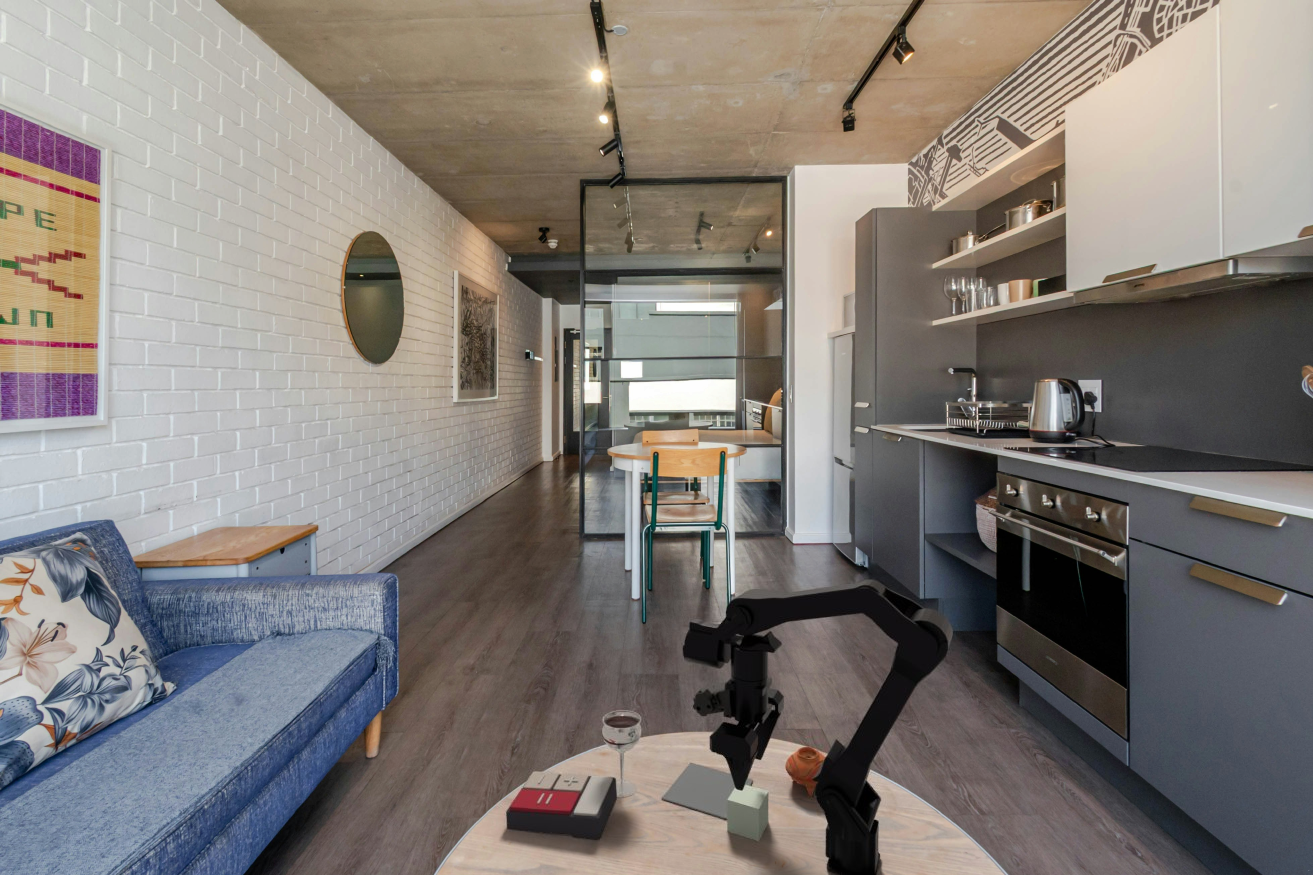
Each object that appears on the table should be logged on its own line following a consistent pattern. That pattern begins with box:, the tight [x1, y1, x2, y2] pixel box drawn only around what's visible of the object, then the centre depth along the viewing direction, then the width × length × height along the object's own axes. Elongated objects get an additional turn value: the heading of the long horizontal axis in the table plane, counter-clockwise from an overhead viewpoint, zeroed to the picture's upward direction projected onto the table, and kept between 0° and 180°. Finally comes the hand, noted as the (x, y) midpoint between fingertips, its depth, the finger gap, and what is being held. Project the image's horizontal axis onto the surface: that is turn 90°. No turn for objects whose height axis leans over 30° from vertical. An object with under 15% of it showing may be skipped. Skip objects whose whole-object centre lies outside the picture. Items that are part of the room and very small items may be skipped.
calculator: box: [505, 771, 618, 842], centre depth 98 cm, size 11×4×15 cm
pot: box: [784, 746, 826, 797], centre depth 106 cm, size 8×8×7 cm
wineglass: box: [601, 709, 642, 798], centre depth 105 cm, size 7×7×12 cm
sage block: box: [726, 785, 770, 842], centre depth 95 cm, size 5×5×5 cm
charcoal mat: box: [661, 762, 754, 820], centre depth 105 cm, size 12×12×1 cm
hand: (749, 773), depth 95 cm, fingers open, 9 cm apart
